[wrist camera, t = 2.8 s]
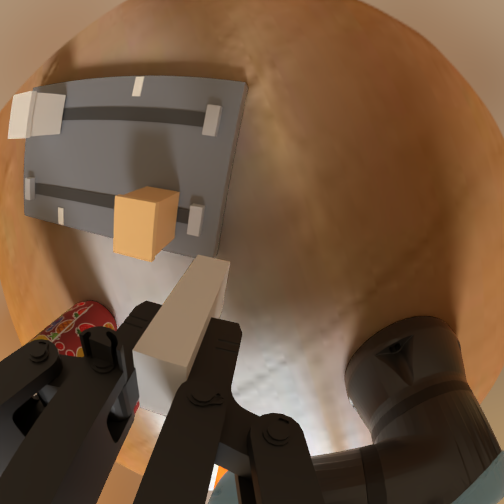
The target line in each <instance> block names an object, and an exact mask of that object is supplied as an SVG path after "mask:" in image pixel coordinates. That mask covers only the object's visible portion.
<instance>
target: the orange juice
mask: <svg viewBox="0 0 504 504" xmlns="http://www.w3.org/2000/svg"><path fill="white" fill-rule="evenodd" d="M227 471H228V470H226V469H224V468H222V467H220V466H219V467H218V472H217V477H216V481H215V486H216V485H217V483H218V481H219V480H220V478H221V477H222V476H223V475H224V474H225V473H226V472H227ZM215 486H214V488H215Z"/></svg>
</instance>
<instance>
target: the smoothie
mask: <svg viewBox="0 0 504 504" xmlns="http://www.w3.org/2000/svg"><path fill="white" fill-rule="evenodd" d="M96 326H103V327H108V328H111V329H113V330H115V331H117V326H116V322H115V320H114V318H113V316H112V315H111V313H110V312H109V311H108V310H107V309H106V308H105V307H104V306H103V305H101V304H100V303H98V302H95V301H86V302H79V303H77V304H75V305H74V306H73V307H71V308H70V309H69V310H68V311H66V312H65V313H64V314H62V315H61V316H60V317H59V318H57V319H56V320H55V321H54V322H52V323H51V324H50V325H49V326H47V327H46V328H45V329H44V330H42V331H41V332H40V333H39V334H38V335H36V336H35V337H34V338H33V339H32V340H30V341H29V342H31V341H33V340H38V339H44V340H49V341H50V342H52V343H54V344H55V346H56V347H57V348H58V352H59V354H62V355H68V356H75V357H83V356H84V353H83V349H82V345H81V341H80V337H79V334H80V333H81V332H82V331H84V330H85V329H88V328H91V327H96ZM29 342H28V343H29ZM35 395H37V393H36V394H35ZM35 395H33V396H35Z"/></svg>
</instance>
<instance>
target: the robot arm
mask: <svg viewBox="0 0 504 504" xmlns="http://www.w3.org/2000/svg"><path fill="white" fill-rule="evenodd" d="M229 268H230V262H229V261H225V260H220V259H216V258H211V257H207V256H202V255H197V257H196V258H195V259H194V261H193V262H192V264H191V265H190V266H189V268H188V269H187V271H186V272H185V273H184V275H183V276H182V278H181V279H180V281H179V282H178V283H177V285H176V286H175V288H174V289H173V291H172V292H171V293H170V295H169V296H168V298H167V299H166V301H165V302H164V304H163V305H160V304H156V303H153V302H149V301H145V302H143V303H141V304H139V305H138V306H136V307H135V308H134V309H133V311H132V312H131V313H130V314H129V316H128V317H127V318H126V319H125V321H124V323H122V324H121V326H120V327H119V328H118V329H117V331H115V330H113V329H111V328H108V327H103V326H96V327H91V328H88V329H85V330H84V331H82V332H81V333H80V334H79V337H80V341H81V345H82V349H83V353H84V356H83V357H75V356H68V355H62V354H59V352H58V348H57V347H56V346H55V344H54V343H52V342H50V341H49V340H44V339H38V340H33V341H31V342H29V343H27V344H26V345H24V346H23V347H21V348H20V349H18V350H17V351H15V352H14V353H12V354H11V355H9V356H8V357H6V358H5V359H3V360H2V361H1V362H0V504H96V503H97V501H98V498H99V496H100V494H101V492H102V489H103V487H104V485H105V482H106V480H107V478H108V476H109V473H110V471H111V469H112V467H113V464H114V462H115V460H116V458H117V456H118V453H119V451H120V449H121V447H122V445H123V443H124V440H125V438H126V436H127V434H128V432H129V430H130V428H131V425H132V423H133V421H134V417H135V414H134V407H135V405H136V403H137V401H138V399H139V403H140V408H143V409H146V410H149V411H151V412H154V413H157V414H160V415H164V416H167V417H166V419H165V422H164V424H163V427H162V429H161V432H160V434H159V437H158V439H157V442H156V445H155V447H154V450H153V452H152V455H151V457H150V460H149V463H148V465H147V468H146V470H145V473H144V476H143V478H142V481H141V483H140V486H139V489H138V491H137V494H136V497H135V499H134V502H133V504H205V501H206V497H207V493H208V488H209V484H210V480H211V475H212V471H213V467H214V463H215V464H216V465H218V466H220V467H222V468H224V469H226V470H228V471H227V472H226V473H225V474H224V475H223V476H222V477H221V478H220V480H219V481H218V483H217V485H216V486H215V488H214V490H213V493H212V495H211V497H210V499H209V502H208V504H497V503H498V502H499V501H500V500H501V499H502V498H503V497H504V451H503V450H501V448H500V446H499V444H498V441H497V439H496V437H495V435H494V433H493V431H492V429H491V427H490V424H489V423H488V420H487V418H486V417H485V414H484V413H483V411H482V409H481V407H480V405H479V403H478V401H477V399H476V398H475V396H474V394H473V392H472V390H471V389H470V387H469V385H468V383H467V380H466V375H465V369H464V364H463V359H462V355H461V347H460V343H459V340H458V338H457V336H456V335H455V334H454V332H453V331H452V329H451V328H450V327H449V325H448V324H447V323H445V322H444V321H442V320H440V319H438V318H435V317H429V316H420V317H413V318H409V319H405V320H402V321H399V322H397V323H394V324H392V325H390V326H388V327H386V328H385V329H383V330H381V331H380V332H378V333H377V334H375V335H374V336H373V337H371V338H370V339H369V340H368V341H366V342H365V343H364V344H363V345H362V346H361V347H360V348H359V350H358V351H357V352H356V353H355V355H354V356H353V357H352V359H351V361H350V363H349V365H348V367H347V370H346V374H345V386H346V391H347V396H348V399H349V401H350V403H351V405H352V406H353V407H354V409H355V410H356V411H357V412H358V414H359V415H360V417H361V418H362V420H363V422H364V423H365V425H366V426H367V428H368V429H369V431H370V433H371V436H372V441H373V444H372V445H368V446H364V447H360V448H355V449H351V450H346V451H341V452H335V453H330V454H324V455H317V456H310V453H309V450H308V446H307V443H306V440H305V437H304V433H303V431H302V429H301V427H300V425H299V424H298V423H297V422H296V421H295V420H293V419H292V418H291V417H288V416H286V415H284V414H278V413H270V414H264V415H262V416H258V415H255V414H253V413H251V412H249V411H247V410H246V409H244V408H242V407H241V406H240V405H239V404H238V403H237V402H236V401H235V399H234V398H233V396H232V392H231V384H232V380H233V375H234V370H235V366H236V361H237V356H238V352H239V347H240V342H241V338H242V331H241V329H240V326H239V323H234V322H230V321H225V320H221V319H219V318H220V316H221V313H222V308H223V302H224V296H225V290H226V285H227V279H228V273H229ZM36 393H37V395H35V394H36ZM33 395H35V396H33Z"/></svg>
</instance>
